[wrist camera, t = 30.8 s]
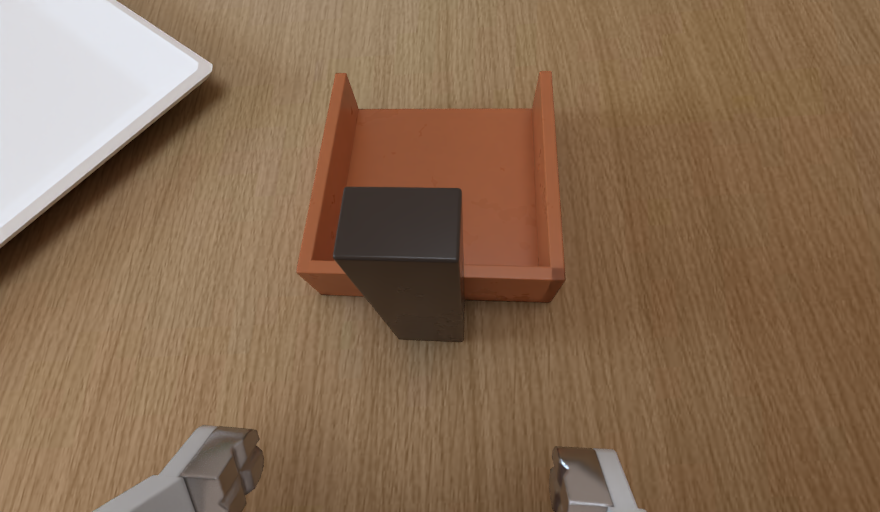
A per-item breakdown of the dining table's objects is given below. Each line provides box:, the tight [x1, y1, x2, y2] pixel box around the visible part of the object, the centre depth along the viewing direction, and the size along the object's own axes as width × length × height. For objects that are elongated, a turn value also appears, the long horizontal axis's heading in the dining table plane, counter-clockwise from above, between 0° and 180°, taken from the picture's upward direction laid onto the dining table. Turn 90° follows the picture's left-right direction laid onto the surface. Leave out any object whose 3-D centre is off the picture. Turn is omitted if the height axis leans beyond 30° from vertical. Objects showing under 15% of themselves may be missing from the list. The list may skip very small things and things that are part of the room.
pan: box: [296, 71, 565, 342], centre depth 16 cm, size 13×11×10 cm
